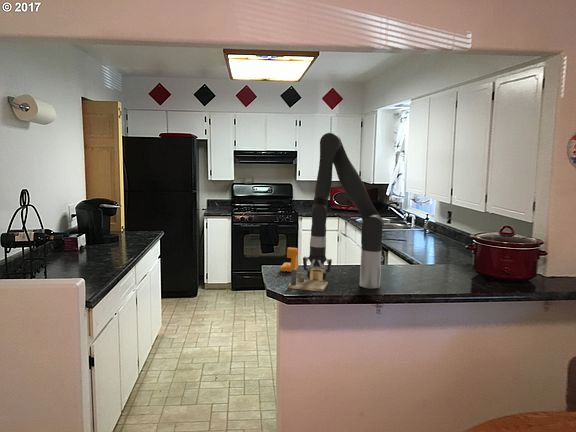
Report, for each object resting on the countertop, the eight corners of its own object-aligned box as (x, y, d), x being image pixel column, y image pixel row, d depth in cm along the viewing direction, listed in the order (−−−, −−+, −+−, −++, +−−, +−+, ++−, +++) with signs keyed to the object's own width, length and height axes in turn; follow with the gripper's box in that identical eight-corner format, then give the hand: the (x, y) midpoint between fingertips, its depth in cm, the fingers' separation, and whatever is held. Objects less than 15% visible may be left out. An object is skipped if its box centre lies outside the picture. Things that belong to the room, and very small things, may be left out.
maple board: (327, 284, 213) (328, 267, 212) (323, 291, 202) (323, 273, 201) (294, 280, 217) (294, 264, 216) (287, 287, 206) (288, 270, 204)
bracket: (284, 267, 242) (285, 245, 240) (298, 268, 241) (298, 246, 239) (280, 272, 232) (281, 249, 230) (294, 273, 230) (295, 250, 228)
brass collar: (324, 279, 221) (324, 269, 220) (321, 283, 215) (322, 272, 214) (311, 278, 222) (311, 268, 222) (308, 281, 216) (309, 271, 216)
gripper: (334, 244, 218) (332, 278, 220) (304, 242, 221) (303, 275, 224) (331, 247, 211) (330, 283, 213) (301, 245, 214) (300, 280, 217)
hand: (316, 279), depth 218 cm, fingers closed on brass collar, 6 cm apart
